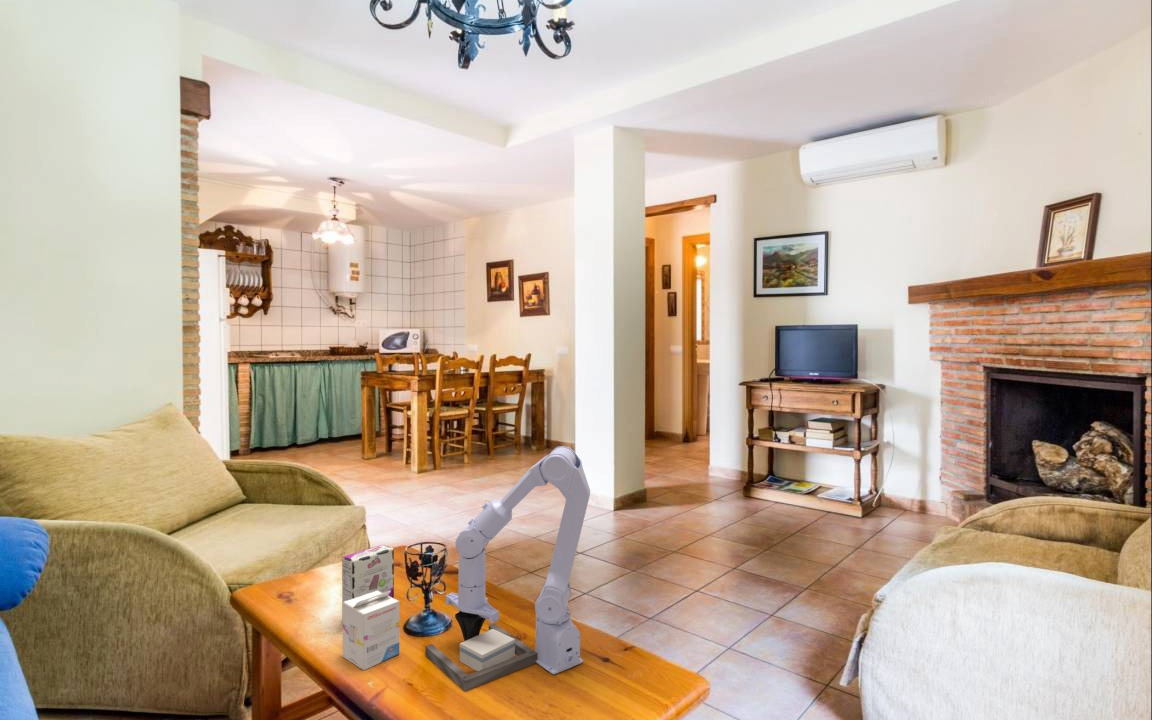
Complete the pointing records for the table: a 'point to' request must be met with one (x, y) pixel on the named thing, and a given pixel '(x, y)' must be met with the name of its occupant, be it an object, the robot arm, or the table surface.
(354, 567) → the candy bar box
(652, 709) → the table surface
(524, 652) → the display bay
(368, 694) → the table surface
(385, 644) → the ink box
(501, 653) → the carton
